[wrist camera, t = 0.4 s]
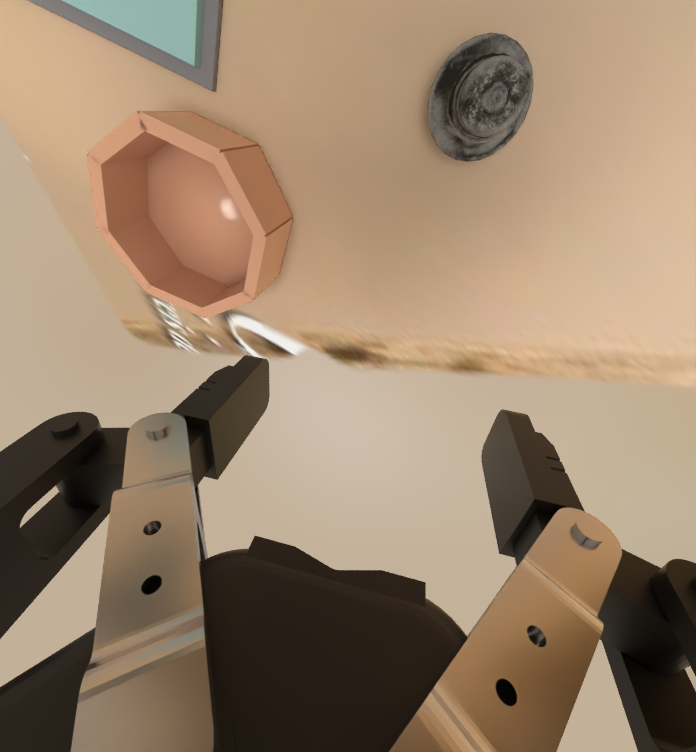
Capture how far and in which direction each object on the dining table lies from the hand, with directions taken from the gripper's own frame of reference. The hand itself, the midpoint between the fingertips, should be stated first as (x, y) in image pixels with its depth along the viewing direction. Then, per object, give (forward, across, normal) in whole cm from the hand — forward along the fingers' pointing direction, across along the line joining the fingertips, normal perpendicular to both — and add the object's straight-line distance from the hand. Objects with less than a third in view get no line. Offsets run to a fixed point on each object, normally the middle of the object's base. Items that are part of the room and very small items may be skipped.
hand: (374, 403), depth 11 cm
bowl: (+22, +18, -2) cm, 28 cm away
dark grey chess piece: (+21, -2, -11) cm, 24 cm away
